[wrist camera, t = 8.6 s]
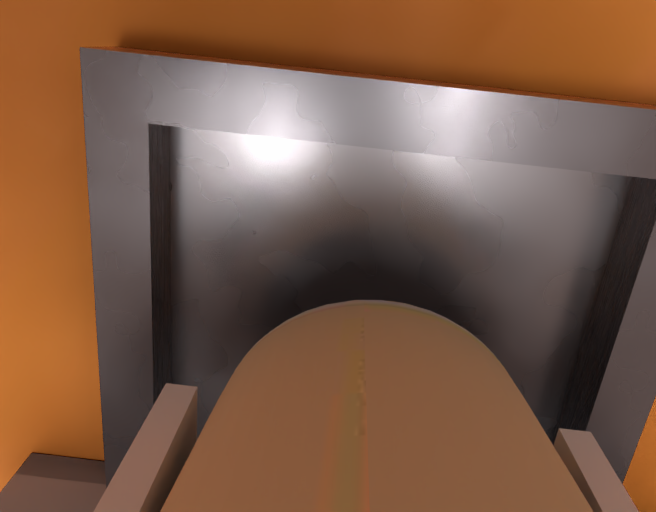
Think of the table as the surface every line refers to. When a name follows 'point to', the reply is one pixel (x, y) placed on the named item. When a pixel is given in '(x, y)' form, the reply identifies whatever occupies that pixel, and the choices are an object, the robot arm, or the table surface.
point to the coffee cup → (372, 424)
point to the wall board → (54, 485)
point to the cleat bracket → (367, 227)
